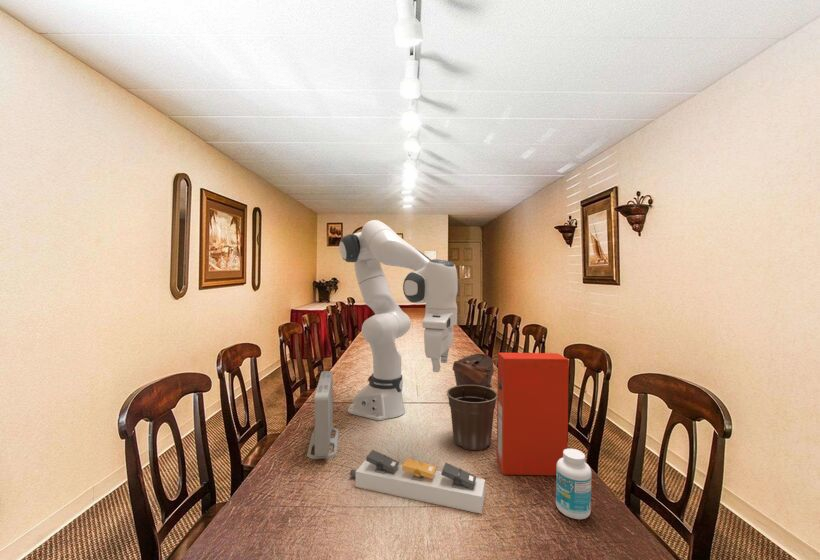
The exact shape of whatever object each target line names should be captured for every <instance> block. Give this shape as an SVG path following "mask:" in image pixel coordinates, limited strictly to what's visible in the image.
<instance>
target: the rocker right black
mask: <svg viewBox="0 0 820 560" xmlns="http://www.w3.org/2000/svg"><path fill="white" fill-rule="evenodd" d="M441 471H442V474H441V475H443V476H445V477H447V478H449V479H452V480H453V482H454V483H455V484H456V485H460V484H463V485H465V486H467V487H469V488H471V489H473V488H474V485H475V481H476V478H477V476H476V475H474V474H473V473H470V472H469V471H468V472H467V471H466V470H464V469H462V468H460V467H456V466H454V465H452V464H450V463H448V462H444V465H443V467H442V470H441Z"/></svg>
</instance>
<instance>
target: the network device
mask: <svg viewBox="0 0 820 560" xmlns="http://www.w3.org/2000/svg"><path fill="white" fill-rule="evenodd" d="M333 374H334V373H333V370H329V371H328V370H327V371H325V370H323V371H321V373H320V376H319V380H318V383H317V385H316V390H315V394H314V430H313V431H312V433H311V437H310V441H309V445H308V450H307V453H306V454H307V457H308V458H309V459H312V460H319V459H330V458H333V457H335V456H336V455H338V454H337V453H338V447H339V446H338V445H339V433H340V432H339V430H340V429H338V428H335V427H333V419H334V415H333V414H334V413H333V411H334V404H333V401H334V397H333V396H334V394H333V393H334V391H333V390H334V388H333V387H334V386H333V385H334V379H333V378H334V375H333ZM332 432H335V435H334V437H332ZM330 446H333V452H331V453H330ZM313 448H314V454H312V451H313Z"/></svg>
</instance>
